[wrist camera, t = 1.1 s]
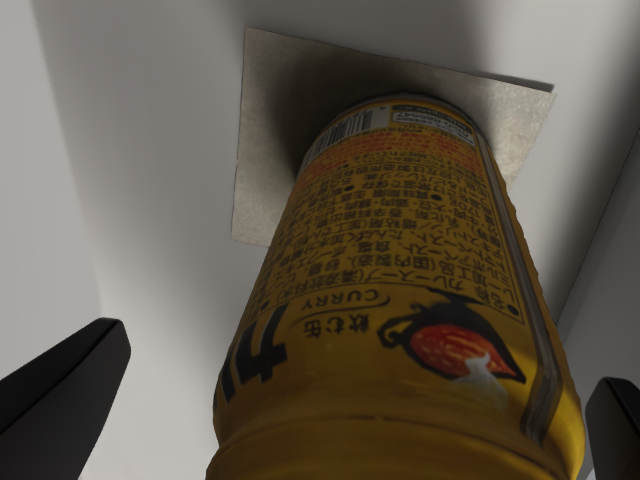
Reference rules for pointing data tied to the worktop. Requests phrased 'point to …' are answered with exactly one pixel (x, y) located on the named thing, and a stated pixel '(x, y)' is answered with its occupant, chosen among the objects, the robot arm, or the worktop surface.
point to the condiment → (388, 279)
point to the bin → (607, 298)
